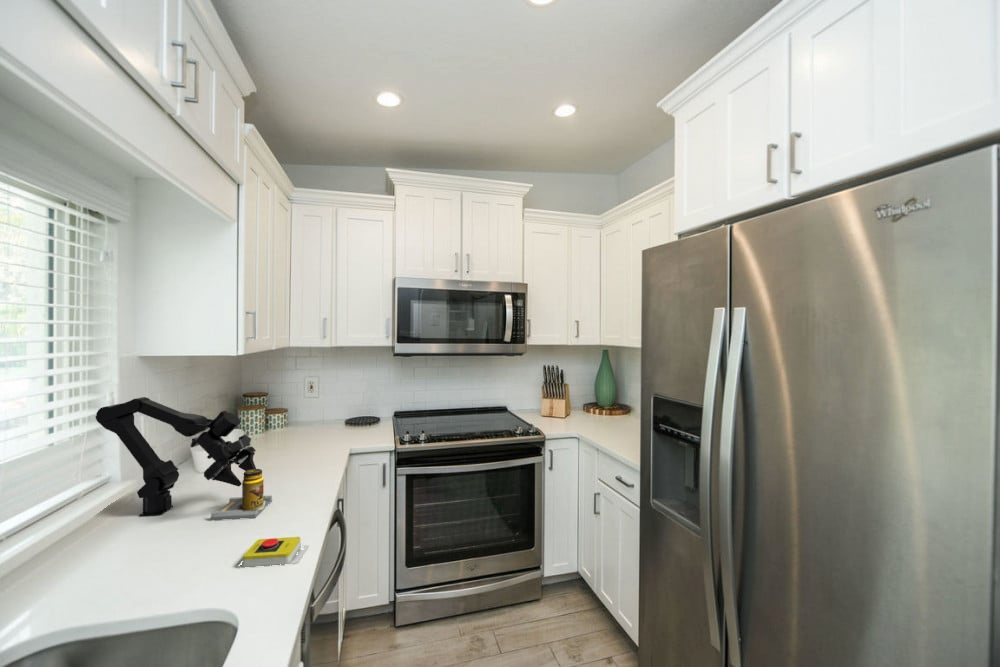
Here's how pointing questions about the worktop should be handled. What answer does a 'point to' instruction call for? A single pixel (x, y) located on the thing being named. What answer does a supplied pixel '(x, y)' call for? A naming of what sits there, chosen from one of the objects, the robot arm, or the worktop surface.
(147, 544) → the worktop surface
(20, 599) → the worktop surface
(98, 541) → the worktop surface
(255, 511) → the guide rails
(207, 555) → the worktop surface
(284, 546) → the emergency button
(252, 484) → the condiment
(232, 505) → the mounting plate
